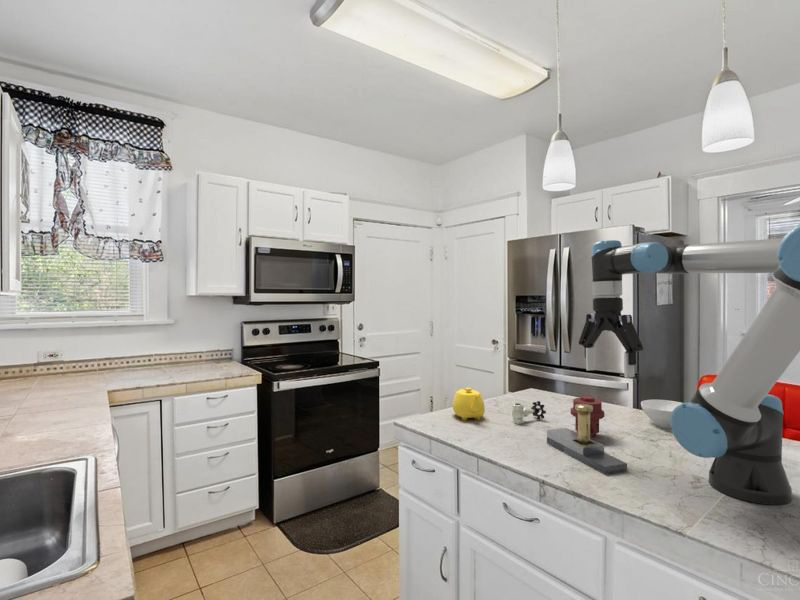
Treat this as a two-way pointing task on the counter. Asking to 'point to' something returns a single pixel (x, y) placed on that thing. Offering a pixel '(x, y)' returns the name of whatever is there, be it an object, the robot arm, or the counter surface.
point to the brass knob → (584, 423)
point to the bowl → (659, 411)
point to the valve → (526, 412)
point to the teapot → (468, 404)
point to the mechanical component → (594, 415)
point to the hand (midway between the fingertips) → (609, 373)
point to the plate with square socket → (585, 451)
